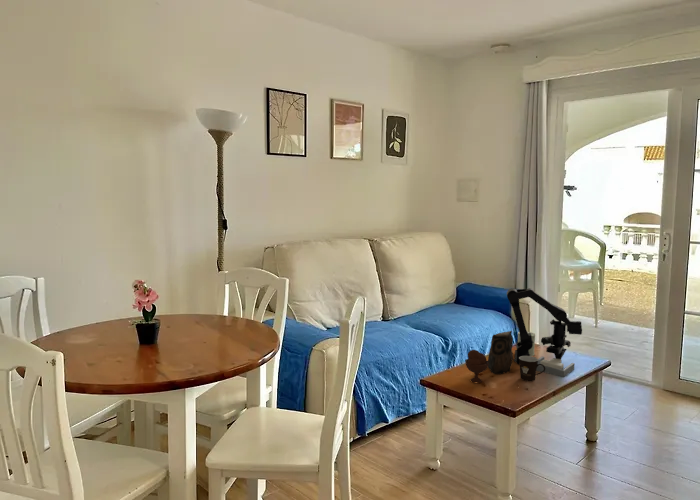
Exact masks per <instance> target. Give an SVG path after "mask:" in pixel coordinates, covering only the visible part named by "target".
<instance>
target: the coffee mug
mask: <svg viewBox="0 0 700 500" xmlns="http://www.w3.org/2000/svg"><path fill="white" fill-rule="evenodd" d="M538 359H539V358H537V357H535V356H520V357H519V364H518V365H519V375H520V380H522V381H525V382H534V381H535V380H536V376H537V375H540V374H542V373H544V371H545V366H544V365H543V364H538ZM539 365H542V366H543V367H544V370H543V371H542V372H540V371H539V372H537V371H536V369H537V367H538V366H539Z"/></svg>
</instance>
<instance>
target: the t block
mask: <svg viewBox="0 0 700 500" xmlns="http://www.w3.org/2000/svg"><path fill="white" fill-rule="evenodd" d="M541 364H543V365H544V366H547V367H552V368H556V369H561V370H563V369H564V366H565V364H564V363H562V358H561V359H556V358H555V357H553V358H551V359H550V360H548V359H544V360H542V361H541Z"/></svg>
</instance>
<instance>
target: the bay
mask: <svg viewBox="0 0 700 500" xmlns="http://www.w3.org/2000/svg"><path fill="white" fill-rule="evenodd" d="M537 359H538V364H541V361H542V360H545V356H540V357H539V358H537ZM575 365H576V364H575V363H574V362H572V363H570V364H568V365H567V366H566V367H565V368H563V370H561V369H556V368H552V367H547V366H545V371H544V372H542V371H543V370H544V367H543V366H542V365H539V366H538V367H537V369H536V372H539V373H540V372H542V373H546V374H549V375H552V376H553V375H554V376H557V377H561V378H565V377H566V376H567V375H568V374H570V373H572V371H574V370H575Z"/></svg>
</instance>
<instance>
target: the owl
mask: <svg viewBox="0 0 700 500" xmlns="http://www.w3.org/2000/svg"><path fill="white" fill-rule="evenodd" d="M512 332H513V331H512V330H509V331H504V332H503V331H502V332H498V333H496V334H493V335H492V337H491V342H490V343H491V345H490V348H489V351H488V352H489V353H488V358H487V361H488V363H489V365H488V368H487V369H489V371H490V373H491V374H493V375H503V374H507V373H510V372H511V370H512V369H511V367H512V365H513V361H514V360H513V359H514V353H513V347H514V346H513V345H514V338H513V334H512Z"/></svg>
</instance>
